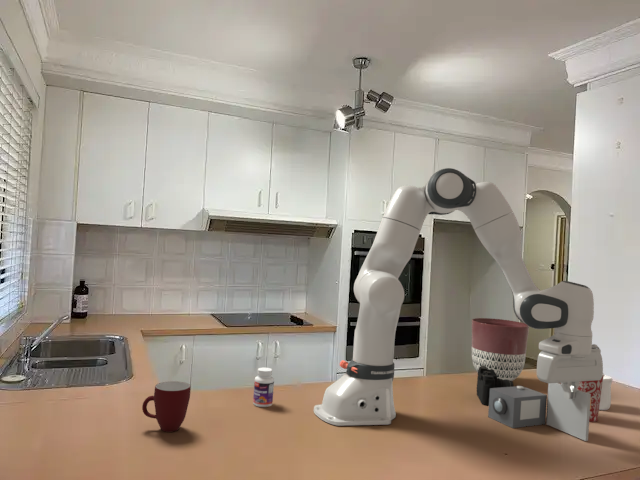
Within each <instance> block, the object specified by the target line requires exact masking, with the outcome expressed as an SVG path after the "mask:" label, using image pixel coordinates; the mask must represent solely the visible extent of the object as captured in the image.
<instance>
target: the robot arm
mask: <svg viewBox="0 0 640 480" xmlns="http://www.w3.org/2000/svg"><path fill="white" fill-rule="evenodd" d="M455 211H459V212H461V213H463V214H464V215H465V216H466V217H467V219H469V222H470V224H471V227H472V228H473V230H474V232H475V234H476V236H477V238H478V239H479V241H480V242H481V244H482V246H483V247H484V248H485V250H486V251H487V252H488V253H489V255H490V256H491V257H492V258H493V259H494V260H495V262H496V263H497V264H498V266H499V267H500V270H501V272H502V273H503V275H504V278H505V280H506V282H507V284H508V286H509V288H510V290H511V294H512V309H513V313H514V314H515V317H516V318H517V320H519V322H521V323H525V324H526V325H528V326H529V328H532V329H534V330H547V329H554V331H553V333H554V334H553V335H551V336H549V337H547V338H545V339H543V340H541V341H539V342H538V350H540V352H539V354H538V355H537V360H536V361H537V362H536V377H537V379H538V380H539V382H542V383H546V384H548V383H559V384H560V383H561V386H562V388H563V390H564V398H566V399H574V398H575V392H576V390H577V388H578V386H579V382H580V381H596V380H601V378H602V376H603V374H604V367H603V365H604V364H603V357H602V354H601V352H602V351H601V348H600V347H599V346H598V344H595V343H593V331H592V323H593V320H594V313H595V311H594V310H595V309H594V308H595V303H594V301H595V300H594V294H593V291H592V290H591V288H590V287H588V286H587V285H584V284H581V283H576V282H573V281H568V280H562V281H560V282H559V283H557V284H555V285H553V286H551V287H548V288H545V289H542V290H540V289H539V288H538V287H537V285H536V283H534V281H533V278H532V277H531V274H530V273H529V270H528V268H527V267H526V264H525V261H524V260H523V256H522V251H521V250H522V249H521V247H522V246H521V245H522V239H523V238H522V237H523V236H522V232H521V228H520V224H519V222H518V219H517V216H516V215H515V213H514V211H513V209H512V208H511V205H510V203H509V202H508V200H507V199H506V197H505V196H504V194H503V193H502V192H501V190H500V189H499V188H498V187H497V185H496V184H494V183H493V182H490V181H480V182H477V183H476V182H475V181H474V180H472V179H471V178H470V177H469V176H467V175H465V174H464V173H463V172H462V171H460V170H458V169H455V168H450V167H446V168H442V169H439V170H437V171H436V172H435V173H433V174H432V176H430V178H429V180H428V181H427V182H426V183H425V185H424V186H421V187H420V186H415V185H408V184H406V185H401V186H399V187H398V188H397V189H396V190H395V192H394V193H393V195H392V196H391V198H390V200H389V202H388V204H387V206H386V208H385V210H384V213H383V216H382V218H381V221H380V223H379V227H378V229H377V232H376V235H375V237H374V241H373V242H372V246H371V247H370V249H369V251H368V253H367V255H366V257H365V259H364V261H363V264H362V265H361V267H360V269H359V272H358V275H357V276H356V278H355V280H354V283H353V293H354V297H355V299H356V300H357V302H358V303H359V310H358V315H357V319H356V320H357V321H356V326H355V329H354V336H353V349H352V350H353V352H352V358H351V360H350V361H349V363H348V361H345V359H344V360H343V359H342V360H340V362H339V367H340V368H341V369H344V370H346V371H345V373H344V374H343V375H341V376H340V377H339V378H338V379H337V380H336V381H334V382H333V383H331V384H330V385H329V386H328V387H326V389H325V391H324V392H323V393H324V394H323V398H322V401H321V404H315V405H314V406H313V413H314V414H315V415H316V417H318V418H319V419H320V420H322V421H323V422H326V423H328V424H330V425H333V426H337V427H338V426H339V427H341V426H344V427H345V426H373V425H374V426H378V425H379V426H380V425H383V426H384V425H388V426H389V425H391V424H392V421H393V420H394V419H395V418H397V417H396V416H397V413H396V409H395V403H394V391H393V389H394V388H393V382H394V377H395V362H394V357H395V341H396V340H395V339H396V331H397V326H398V322H399V318H400V314H401V309H402V305H403V303H404V300H405V289H404V287H403V285H402V282H401V281H400V279H399V278H400V276H401V274H402V273H403V270H404V268H405V267H406V265H407V264H408V262H409V261H410V260H411V258H412V255H413V253H414V250H415V247H416V244H417V242H418V240H419V236H420V233H421V230H422V228H423V225H424V223H425V220H426V218H427V216H428V215H436V216H443V215H445V216H446V215H449V214H451V213H453V212H455Z"/></svg>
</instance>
